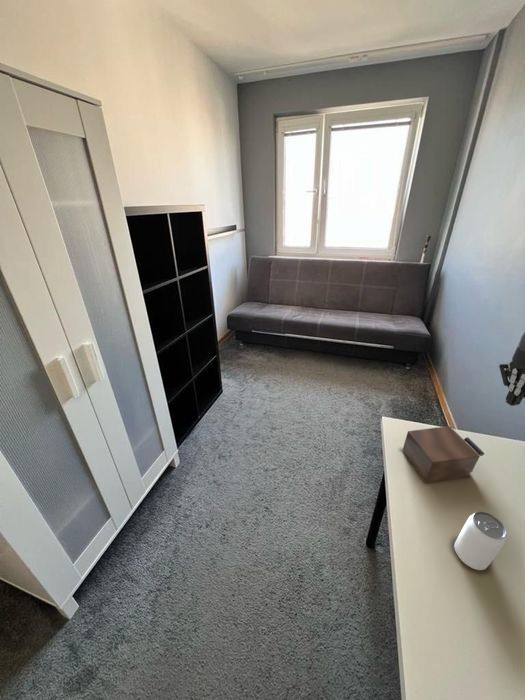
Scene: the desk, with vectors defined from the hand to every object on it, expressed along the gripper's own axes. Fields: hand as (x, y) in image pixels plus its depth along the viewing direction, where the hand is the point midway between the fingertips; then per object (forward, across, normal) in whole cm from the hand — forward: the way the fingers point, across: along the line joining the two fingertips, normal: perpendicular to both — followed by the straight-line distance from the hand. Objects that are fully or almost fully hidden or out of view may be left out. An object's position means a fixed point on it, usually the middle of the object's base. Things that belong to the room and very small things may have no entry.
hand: (511, 403), depth 76 cm
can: (+21, -24, +24) cm, 40 cm away
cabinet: (+21, 0, +17) cm, 27 cm away
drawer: (+20, 0, +13) cm, 24 cm away
